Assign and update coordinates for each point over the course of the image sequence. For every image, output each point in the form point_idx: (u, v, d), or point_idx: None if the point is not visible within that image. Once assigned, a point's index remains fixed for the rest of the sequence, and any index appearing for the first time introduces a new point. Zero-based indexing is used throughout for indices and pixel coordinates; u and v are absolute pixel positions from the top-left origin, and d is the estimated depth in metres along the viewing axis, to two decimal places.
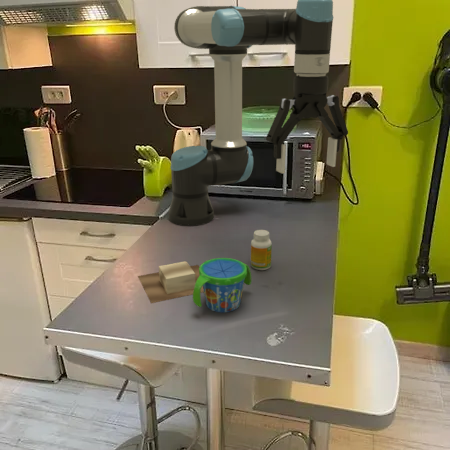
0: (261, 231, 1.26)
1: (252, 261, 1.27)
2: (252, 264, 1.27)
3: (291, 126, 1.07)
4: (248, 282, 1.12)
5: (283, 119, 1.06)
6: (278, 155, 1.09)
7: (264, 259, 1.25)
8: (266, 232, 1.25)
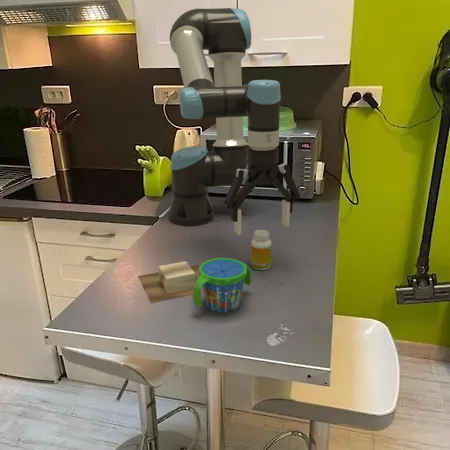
0: (261, 231, 1.26)
1: (252, 261, 1.27)
2: (252, 264, 1.27)
3: (245, 193, 1.18)
4: (248, 282, 1.12)
5: (238, 187, 1.17)
6: (234, 218, 1.20)
7: (264, 259, 1.25)
8: (266, 232, 1.25)
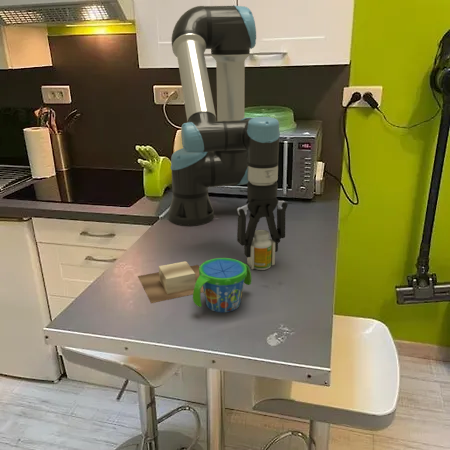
0: (261, 231, 1.26)
1: None
2: None
3: (253, 229, 1.22)
4: (248, 282, 1.12)
5: (244, 225, 1.21)
6: (248, 254, 1.25)
7: (264, 258, 1.25)
8: (266, 232, 1.25)
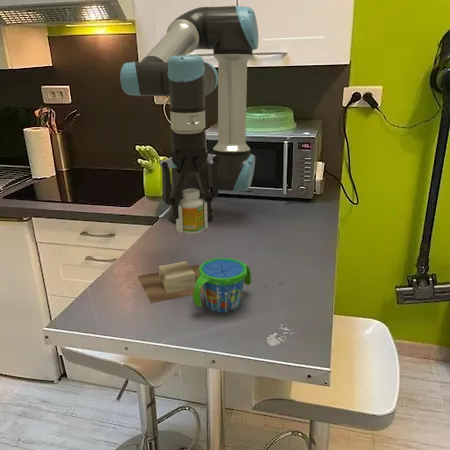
0: (191, 189, 1.11)
1: None
2: None
3: (179, 185, 1.08)
4: (248, 282, 1.12)
5: (168, 180, 1.06)
6: (175, 216, 1.10)
7: (194, 220, 1.11)
8: (196, 190, 1.11)
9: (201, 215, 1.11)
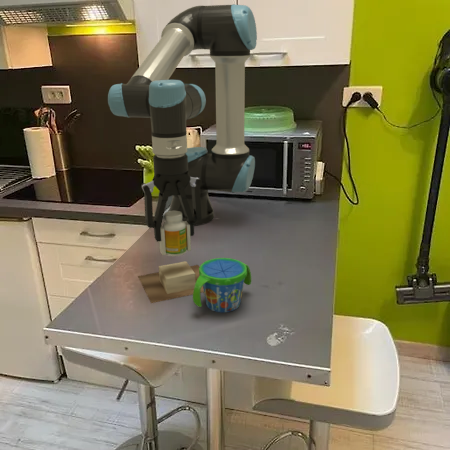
0: (173, 212, 1.11)
1: None
2: None
3: (161, 209, 1.08)
4: (248, 282, 1.12)
5: (150, 204, 1.06)
6: (158, 238, 1.11)
7: (176, 243, 1.11)
8: (179, 213, 1.11)
9: (184, 238, 1.11)
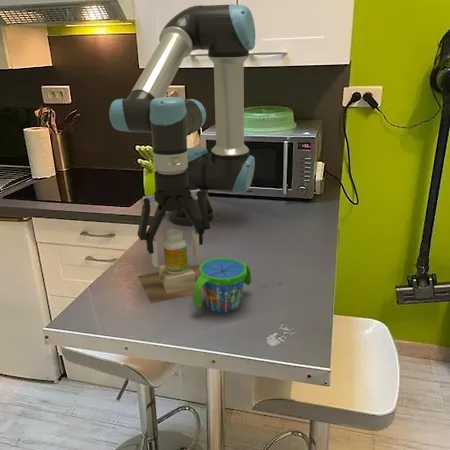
0: (174, 231, 1.13)
1: (165, 264, 1.14)
2: (166, 268, 1.15)
3: (157, 222, 1.09)
4: (248, 282, 1.12)
5: (147, 217, 1.07)
6: (150, 250, 1.11)
7: (177, 261, 1.13)
8: (179, 232, 1.13)
9: (184, 256, 1.13)
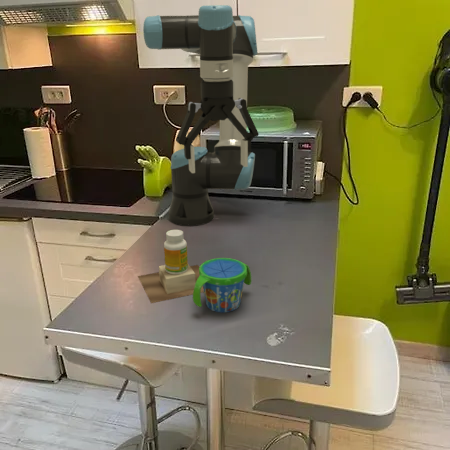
0: (175, 231, 1.13)
1: (165, 264, 1.14)
2: (166, 268, 1.15)
3: (198, 128, 1.12)
4: (248, 282, 1.12)
5: (190, 122, 1.11)
6: (188, 156, 1.14)
7: (177, 262, 1.12)
8: (180, 232, 1.13)
9: (185, 256, 1.13)
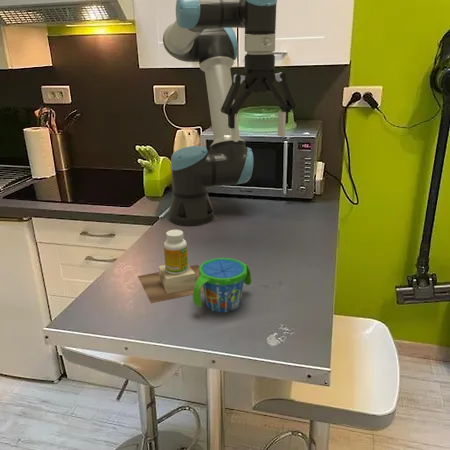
0: (175, 231, 1.13)
1: (165, 264, 1.14)
2: (166, 268, 1.15)
3: (242, 99, 1.21)
4: (248, 282, 1.12)
5: (235, 92, 1.20)
6: (232, 125, 1.23)
7: (177, 262, 1.12)
8: (180, 232, 1.13)
9: (185, 256, 1.13)
